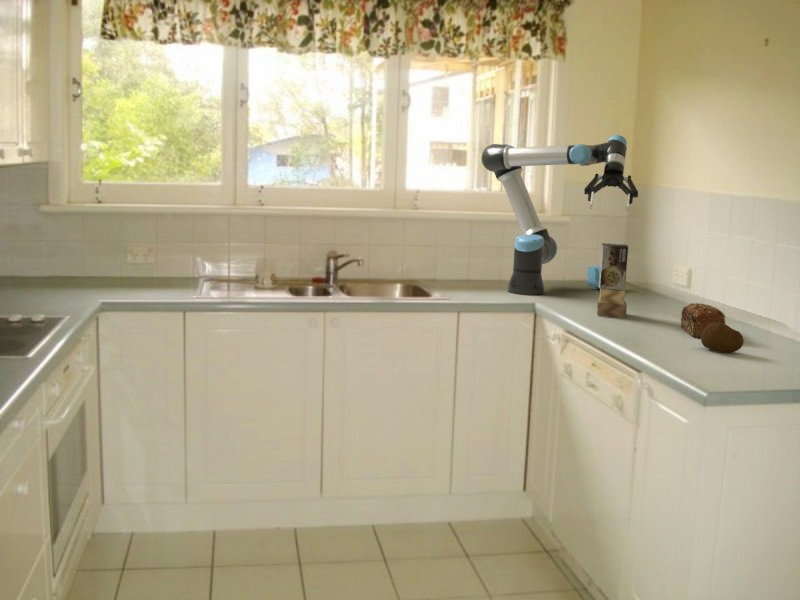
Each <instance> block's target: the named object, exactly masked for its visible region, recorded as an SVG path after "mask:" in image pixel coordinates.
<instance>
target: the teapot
mask: <svg viewBox="0 0 800 600" xmlns="http://www.w3.org/2000/svg"><path fill="white" fill-rule="evenodd" d="M599 276H600V265H593V266H588V268H587V279H588V280H587V286H589V287H593V288H592V290H593V289H600V288H599Z"/></svg>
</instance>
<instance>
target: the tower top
mask: <svg viewBox="0 0 800 600" xmlns="http://www.w3.org/2000/svg"><path fill="white" fill-rule="evenodd" d="M625 297H626V289H625V290H613V289H600V288H599V298H598V299H599V300H600V303H606V304H618V305H624V301H625V299H626V298H625Z"/></svg>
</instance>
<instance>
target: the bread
mask: <svg viewBox="0 0 800 600" xmlns="http://www.w3.org/2000/svg"><path fill="white" fill-rule="evenodd" d="M680 322H681V323H680V327H681V329H683V331H684V332H686V333H687V334H688V335H689V336H690V337H692V338H696V339H697V338H698V339H701V335H702V332H703V330H704V329H705V327H707V326H708V325H709V324H711V323H723V324H726V315H725V314H724V312H722V311H721V310H720V309H718V308H717V307H715V306H713V305H709V304H705V303H698V302H697V303H690V304H688V305H685V306H683V308H682V310H681V318H680Z"/></svg>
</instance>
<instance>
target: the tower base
mask: <svg viewBox="0 0 800 600" xmlns="http://www.w3.org/2000/svg"><path fill="white" fill-rule="evenodd" d="M599 299H600V298H597V300H596V311H597V312H596V316H597V315H598V316H597V317H602V316H609V317H608V318H614V317H620V318H619V319H626V318H627V310H628V309H627V308H628V306H627V303H626V301H625V300H624V305H618V304H606V303H600V300H599Z"/></svg>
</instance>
